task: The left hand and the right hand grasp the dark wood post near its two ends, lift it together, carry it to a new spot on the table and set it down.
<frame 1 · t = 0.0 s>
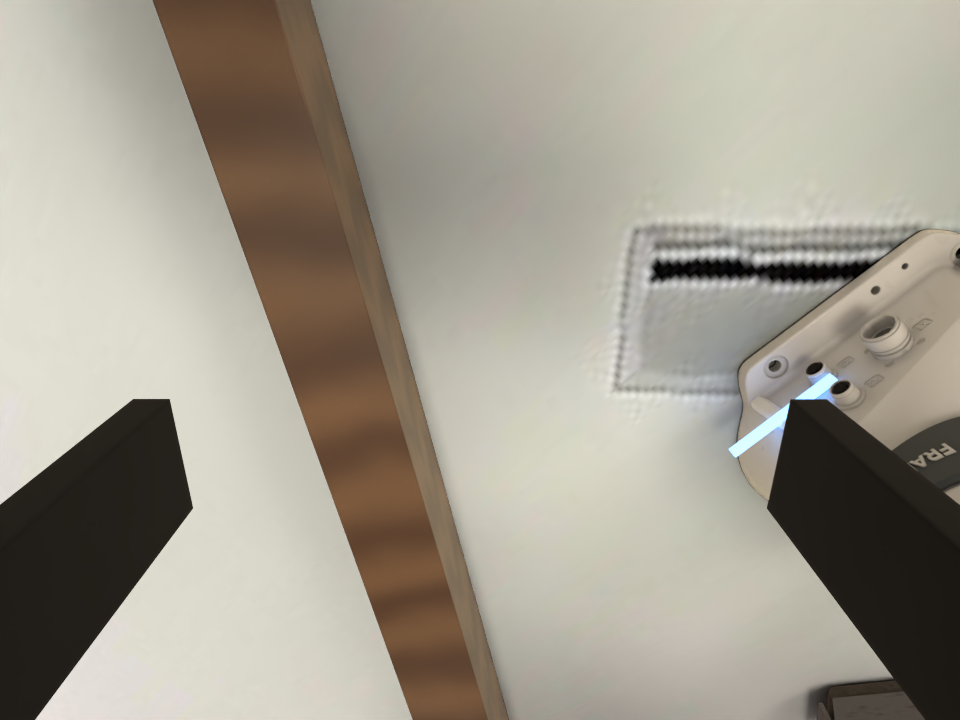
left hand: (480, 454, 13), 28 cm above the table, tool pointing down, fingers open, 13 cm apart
post: (402, 470, 45), on the table
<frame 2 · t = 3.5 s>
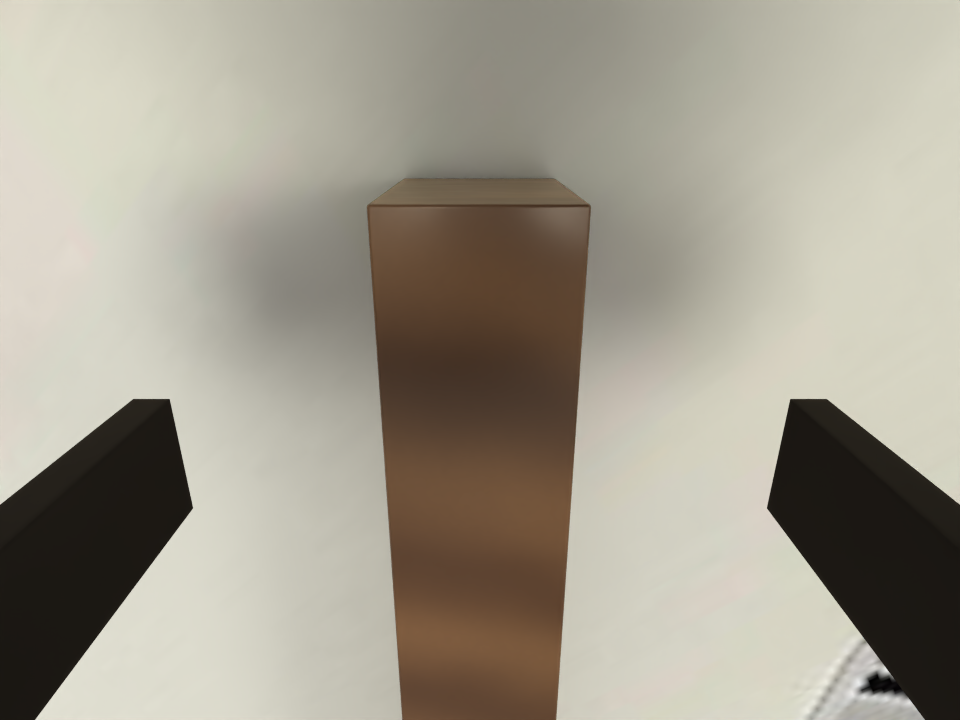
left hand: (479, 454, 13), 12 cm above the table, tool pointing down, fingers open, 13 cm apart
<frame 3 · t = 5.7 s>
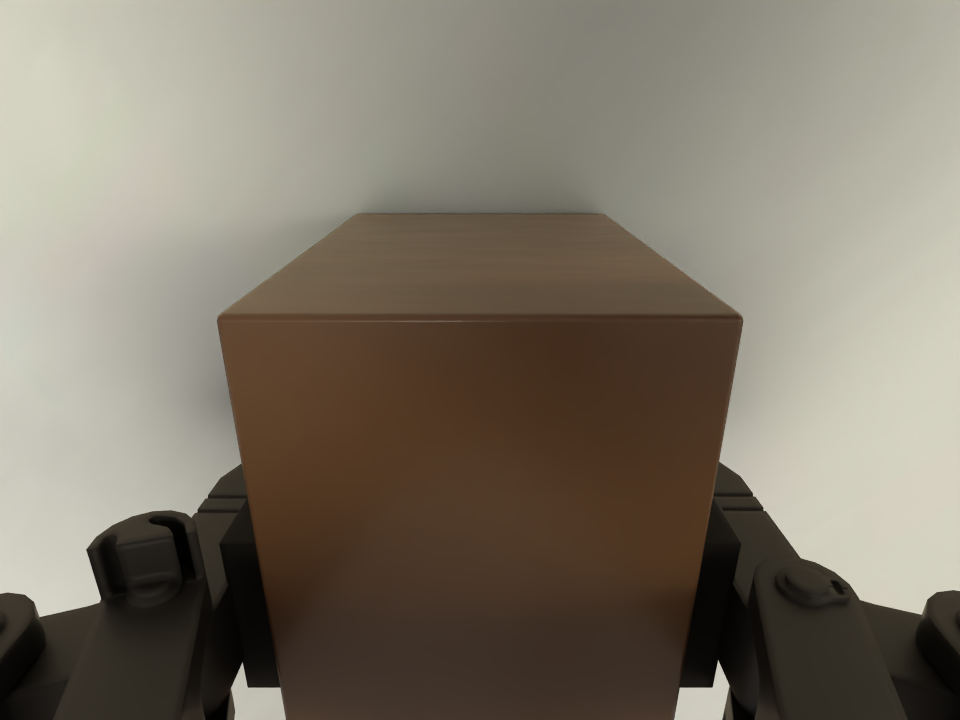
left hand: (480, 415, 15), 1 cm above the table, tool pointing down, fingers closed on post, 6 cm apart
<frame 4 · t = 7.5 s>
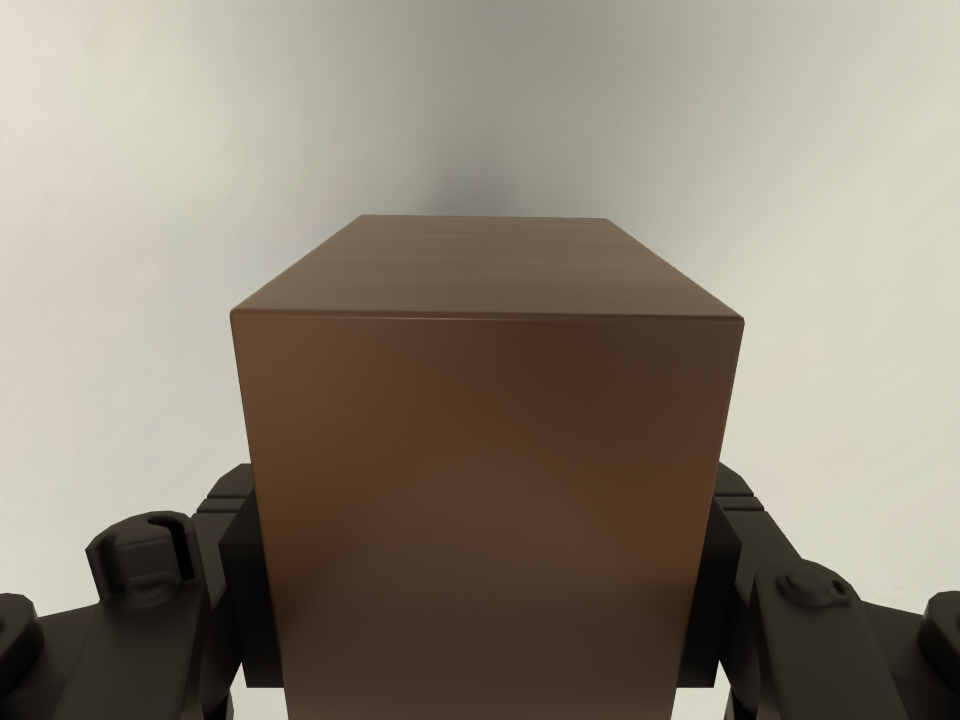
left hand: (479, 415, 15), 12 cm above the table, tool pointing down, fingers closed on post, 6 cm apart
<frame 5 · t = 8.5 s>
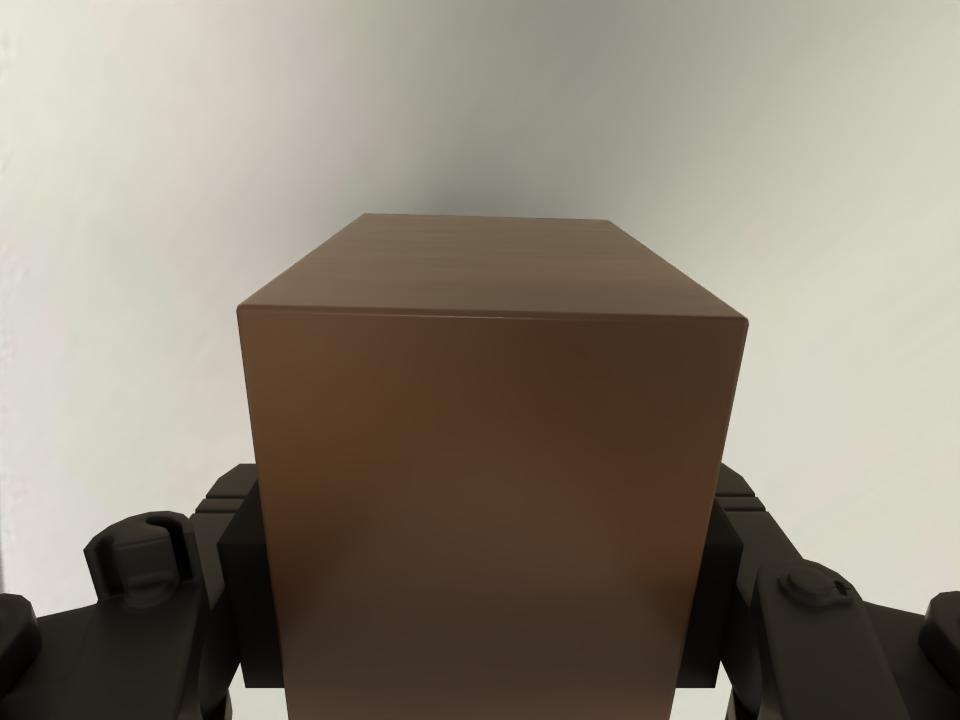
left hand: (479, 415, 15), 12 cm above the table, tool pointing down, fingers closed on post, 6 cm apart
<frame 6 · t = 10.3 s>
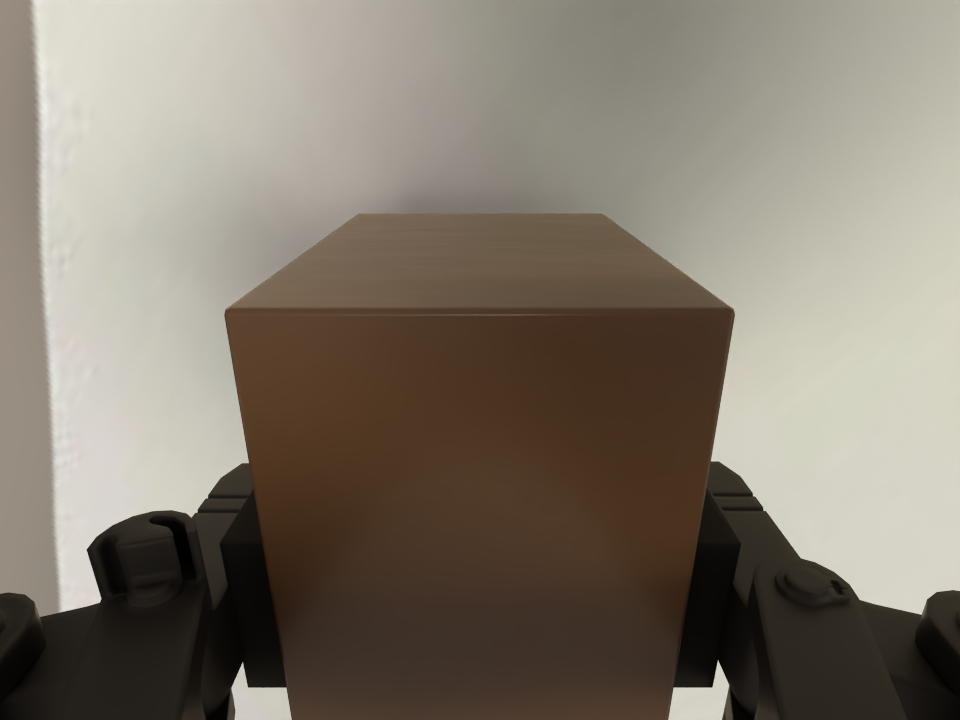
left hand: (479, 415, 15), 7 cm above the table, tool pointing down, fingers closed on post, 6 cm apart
when the left hand's fingers open (2 cm above the table, at t = 11.5 s): post drops 1 cm, on the table.
when the right hand's fingers open (4 cm above the table, at t = 11.7 s): post stays where it is, on the table.
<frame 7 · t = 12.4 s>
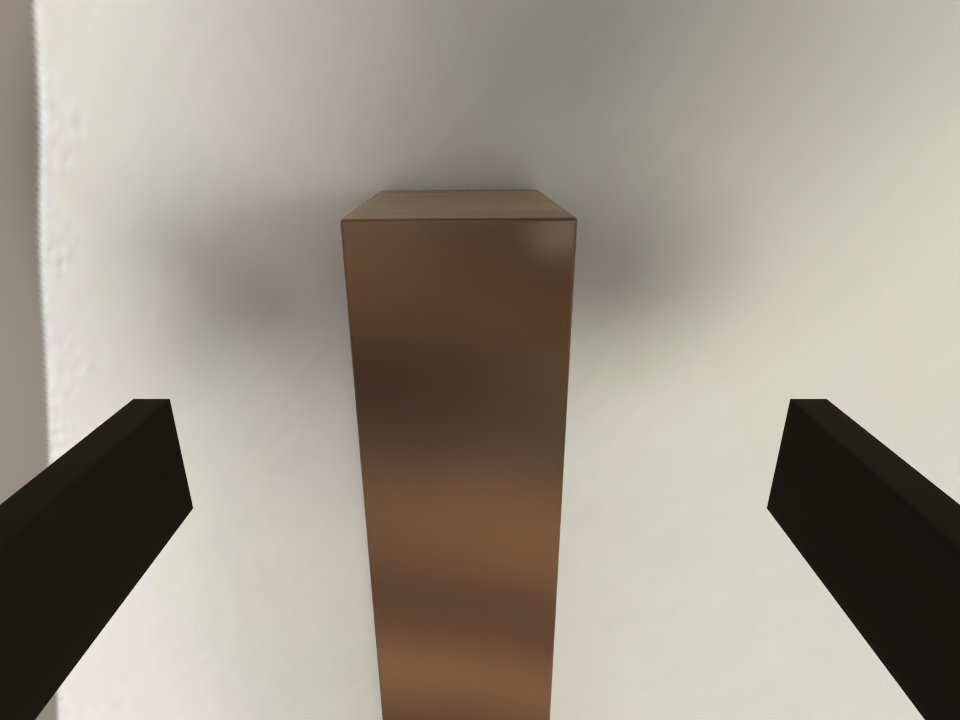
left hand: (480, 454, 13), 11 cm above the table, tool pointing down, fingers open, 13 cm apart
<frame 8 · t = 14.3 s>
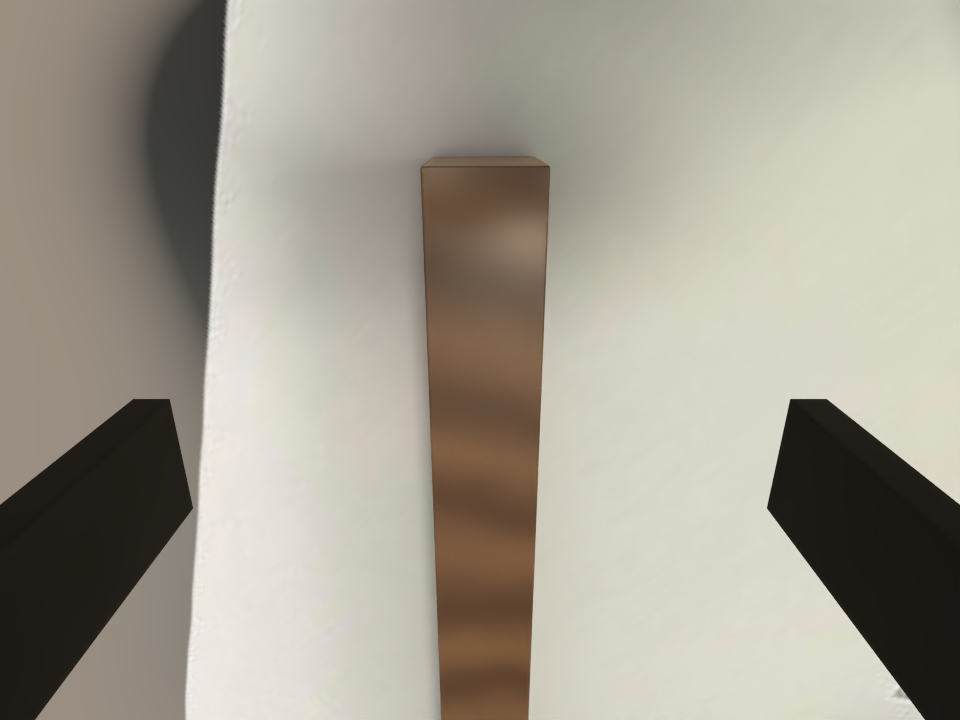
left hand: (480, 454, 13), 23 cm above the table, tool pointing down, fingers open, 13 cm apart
post: (484, 658, 46), on the table
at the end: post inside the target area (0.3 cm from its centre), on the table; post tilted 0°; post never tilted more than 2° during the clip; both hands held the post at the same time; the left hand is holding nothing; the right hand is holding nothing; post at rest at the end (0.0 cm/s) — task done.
